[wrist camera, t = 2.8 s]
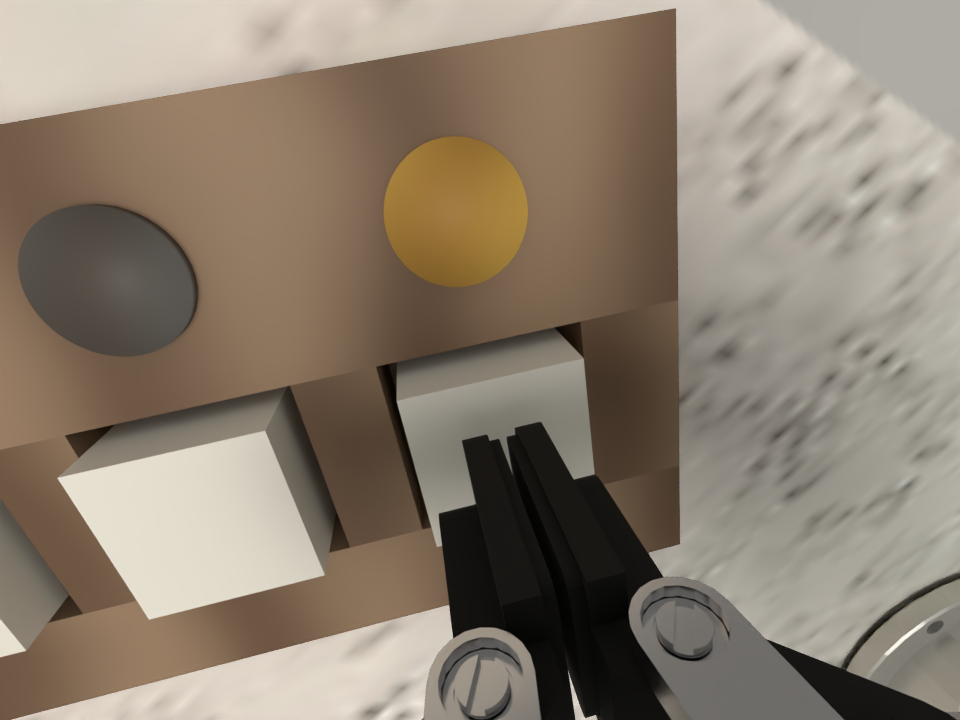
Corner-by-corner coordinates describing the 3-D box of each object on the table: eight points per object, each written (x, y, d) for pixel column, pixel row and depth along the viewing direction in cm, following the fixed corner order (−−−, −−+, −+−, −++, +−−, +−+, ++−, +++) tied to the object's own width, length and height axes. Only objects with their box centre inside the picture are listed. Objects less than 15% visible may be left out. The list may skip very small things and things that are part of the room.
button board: (605, 48, 13) (684, 3, 9) (629, 477, 18) (685, 551, 15) (-413, 228, 11) (-801, 257, 7) (-39, 643, 16) (-157, 773, 13)
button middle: (289, 383, 12) (264, 430, 10) (336, 510, 14) (324, 575, 12) (119, 420, 12) (57, 477, 10) (189, 546, 14) (149, 619, 11)
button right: (552, 325, 13) (583, 358, 11) (567, 454, 14) (597, 506, 12) (397, 359, 12) (396, 400, 10) (430, 487, 14) (436, 547, 12)
